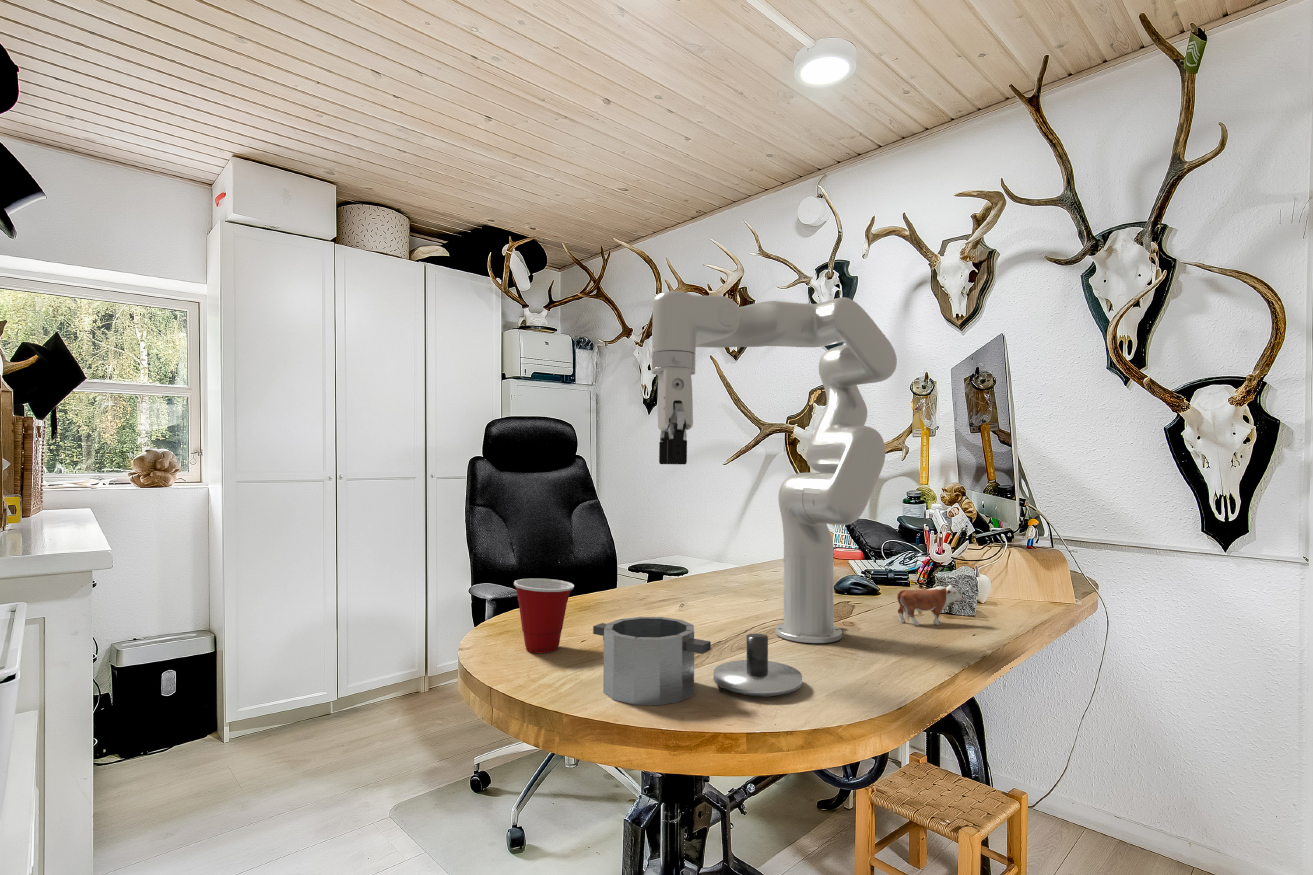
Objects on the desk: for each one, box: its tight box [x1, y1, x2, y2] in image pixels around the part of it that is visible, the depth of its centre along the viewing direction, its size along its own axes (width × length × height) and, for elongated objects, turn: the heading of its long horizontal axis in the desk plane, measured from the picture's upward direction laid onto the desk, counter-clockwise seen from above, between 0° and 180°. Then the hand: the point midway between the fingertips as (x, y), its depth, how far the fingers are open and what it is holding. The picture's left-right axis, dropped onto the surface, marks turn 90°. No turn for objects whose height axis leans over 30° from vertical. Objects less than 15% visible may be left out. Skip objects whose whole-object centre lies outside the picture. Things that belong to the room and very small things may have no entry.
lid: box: [713, 633, 803, 698], centre depth 98 cm, size 13×13×8 cm
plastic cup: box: [513, 578, 575, 654], centre depth 117 cm, size 11×11×12 cm
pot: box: [592, 616, 712, 706], centre depth 97 cm, size 13×19×9 cm
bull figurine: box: [896, 584, 963, 627], centre depth 137 cm, size 4×13×8 cm, turn 91°
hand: (672, 464), depth 112 cm, fingers open, 9 cm apart
